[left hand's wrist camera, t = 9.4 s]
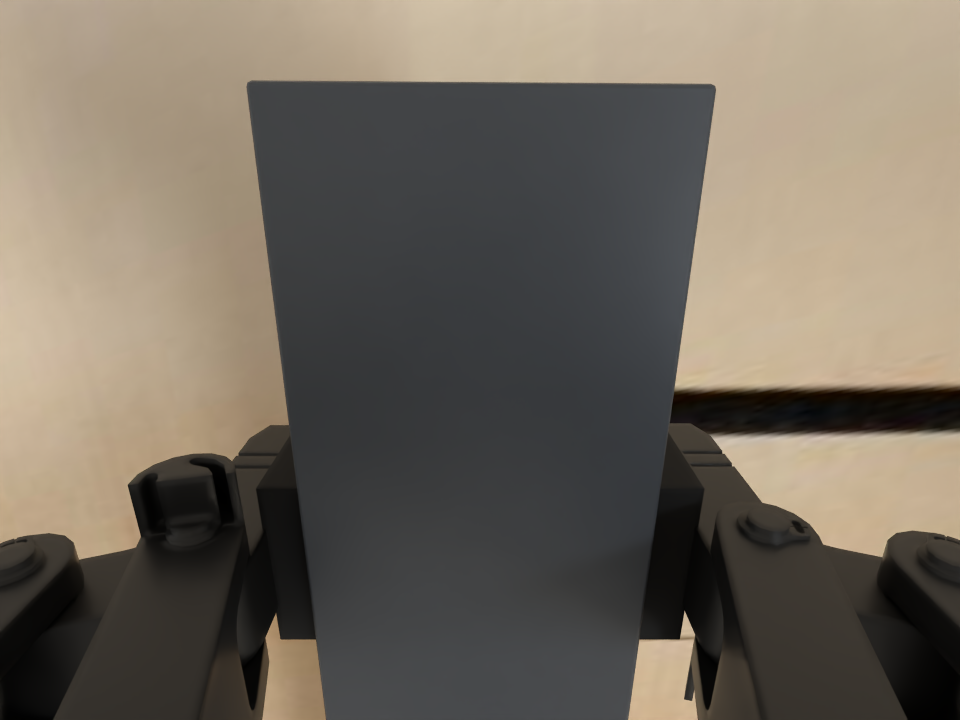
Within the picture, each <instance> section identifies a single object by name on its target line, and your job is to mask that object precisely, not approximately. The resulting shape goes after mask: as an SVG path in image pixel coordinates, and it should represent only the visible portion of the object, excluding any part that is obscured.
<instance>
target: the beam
mask: <svg viewBox="0 0 960 720" xmlns="http://www.w3.org/2000/svg"><path fill="white" fill-rule="evenodd" d="M715 93H716V88H715V86H714V85H712V84H649V83H513V82H378V81H250V82H248V83H247V94H248V102H249V110H250V118H251V126H252V134H253V142H254V150H255V158H256V165H257V173H258V181H259V189H260V197H261V205H262V213H263V221H264V229H265V237H266V245H267V253H268V261H269V269H270V277H271V285H272V293H273V301H274V309H275V316H276V324H277V332H278V340H279V348H280V356H281V364H282V372H283V380H284V388H285V396H286V404H287V412H288V420H289V428H290V436H291V444H292V452H293V460H294V467H295V475H296V483H297V491H298V499H299V507H300V515H301V523H302V531H303V539H304V547H305V555H306V563H307V571H308V579H309V587H310V595H311V603H312V610H313V618H314V626H315V634H316V642H317V650H318V658H319V666H320V674H321V682H322V690H323V698H324V706H325V714H326V720H628V716H629V709H630V702H631V695H632V687H633V680H634V673H635V666H636V659H637V652H638V644H639V637H640V630H641V623H642V616H643V609H644V601H645V594H646V587H647V580H648V573H649V566H650V559H651V551H652V544H653V537H654V530H655V523H656V516H657V508H658V501H659V494H660V487H661V480H662V473H663V465H664V458H665V451H666V444H667V437H668V430H669V422H670V415H671V408H672V401H673V394H674V387H675V379H676V372H677V365H678V358H679V351H680V344H681V337H682V329H683V322H684V315H685V308H686V301H687V294H688V286H689V279H690V272H691V265H692V258H693V251H694V243H695V236H696V229H697V222H698V215H699V208H700V200H701V193H702V186H703V179H704V172H705V165H706V157H707V150H708V143H709V136H710V129H711V122H712V114H713V107H714V100H715Z"/></svg>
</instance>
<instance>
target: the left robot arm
mask: <svg viewBox="0 0 960 720" xmlns="http://www.w3.org/2000/svg"><path fill="white" fill-rule="evenodd" d="M128 488H129V492H130V496H131V500H132V503H133V507H134V511H135V515H136V519H137V523H138V527H139V530H140V534H141V538H140V540H139V543H138V545H137V547H136V548H133V549H129V550H125V551H121V552H116V553H111V554H106V555H101V556H96V557H91V558H86V559H81V560H79V559H78V555H77V552H76V549H75V546H74V543H73V542H72V541H71V540H70V539H68V538H67V537H66V536H63V535H57V534H50V533H48V534H39V535H29V536H23V537H19V538H17V539H15V540H14V539H12V540H9V541H6V542H3V543H1V544H0V720H262V717H263V709H264V700H265V692H266V684H267V676H268V668H269V657H268V650H267V644H266V639H265V637H266V635H267V632H268V630H269V628H270V625H271V623H272V621H273V618H274V616H275V614H277V620H278V626H279V632H280V638H281V639H316V634H315V626H314V618H313V610H312V603H311V595H310V587H309V579H308V571H307V563H306V555H305V547H304V539H303V531H302V523H301V515H300V507H299V499H298V491H297V483H296V475H295V467H294V460H293V452H292V444H291V436H290V428H289V425H270V426H269V427H267V428H265V429H264V430H262V431H261V432H259V433H257V434H256V435H254V436H253V437H251V438H250V439H249V440H248V441H247V443H246V444H245V445H244V447H243V448H242V449H241V451H240V452H239V456H236V457H235V458H234V460H233V461H231V460H230V459H228V458H227V457H225V456H221V455H216V454H212V453H211V454H190V455H185V456H180V457H175V458H171V459H169V460H166V461H163V462H160V463H158V464H155V465H153V466H151V467H149V468H148V469H146V470H144V471H143V472H141V473H139V474H138V475H137V476H136V477H135V478H134V479H133V480H132V481H131V482H130V483H129V484H128ZM684 610H685V612H686V614H687V617H688V619H689V621H690V624H691V626H692V628H693V631H694V633H695V639H694V644H693V650H692V656H691V661H690V667H689V672H688V678H687V684H686V690H685V697H684V699H685V700H690V701H692V698H693V693H694V691H695V699H696V707H697V715H698V720H960V540H958V539H955V538H952V537H949V536H947V537H945V536H944V535H941V534H936V533H928V532H919V531H907V532H901V533H896V534H895V535H894V536H892V537H891V538H890V539H889V540H888V541H887V544H886V547H885V551H884V554H883V557H878V556H873V555H868V554H863V553H858V552H853V551H848V550H843V549H838V548H834V547H830V546H826V545H823V544H822V541H821V539H820V537H819V536H818V534H817V533H816V532H815V531H814V529H813V528H812V527H811V526H810V524H808V523H807V522H805V521H804V520H803V519H801V518H800V517H798V516H797V515H795V514H794V513H791V512H789V511H786V510H784V509H782V508H779V507H777V506H774V505H769V504H765V503H762V502H761V501H760V499H759V498H758V497H757V495H756V494H755V493H754V492H753V490H752V489H751V488H750V486H749V485H748V484H747V482H746V481H745V480H744V479H743V477H742V476H741V475H740V473H739V472H738V471H737V470H736V468H735V467H732V463H731V462H730V461H729V459H728V458H727V457H726V455H725V454H722V450H721V449H720V448H719V446H718V445H717V444H716V442H715V441H714V440H713V439H712V437H711V436H710V435H708V434H706V433H705V432H703V431H702V430H700V429H698V428H697V427H695V426H694V425H692V424H669V430H668V437H667V444H666V451H665V458H664V465H663V473H662V480H661V487H660V494H659V501H658V508H657V516H656V523H655V530H654V537H653V544H652V551H651V559H650V566H649V573H648V580H647V587H646V594H645V601H644V609H643V616H642V623H641V630H640V637H639V639H680V635H681V629H682V622H683V616H684Z"/></svg>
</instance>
